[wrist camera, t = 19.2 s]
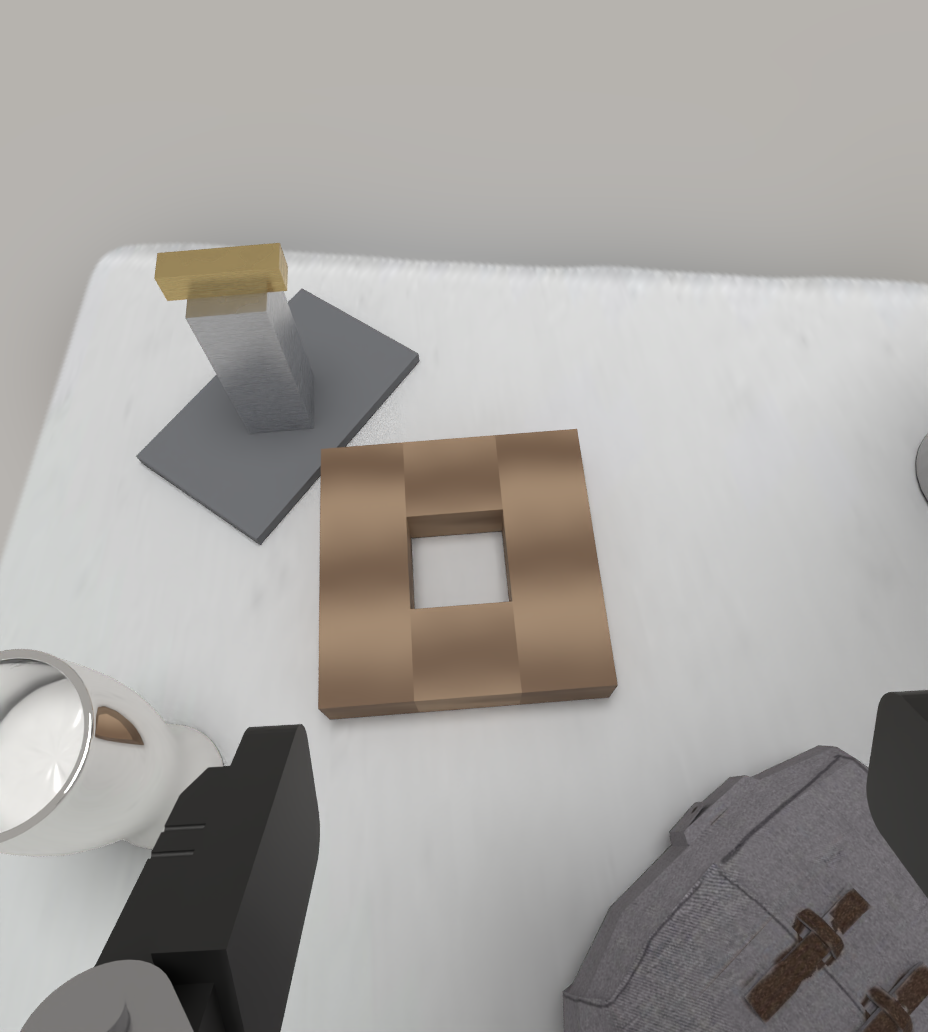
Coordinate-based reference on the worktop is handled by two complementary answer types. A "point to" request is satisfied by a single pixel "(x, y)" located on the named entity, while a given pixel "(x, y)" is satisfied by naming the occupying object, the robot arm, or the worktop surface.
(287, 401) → the t key
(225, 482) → the slate mat
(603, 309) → the worktop surface
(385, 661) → the socket block
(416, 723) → the worktop surface
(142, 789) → the beer glass
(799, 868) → the grey rounded bag
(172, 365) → the worktop surface
